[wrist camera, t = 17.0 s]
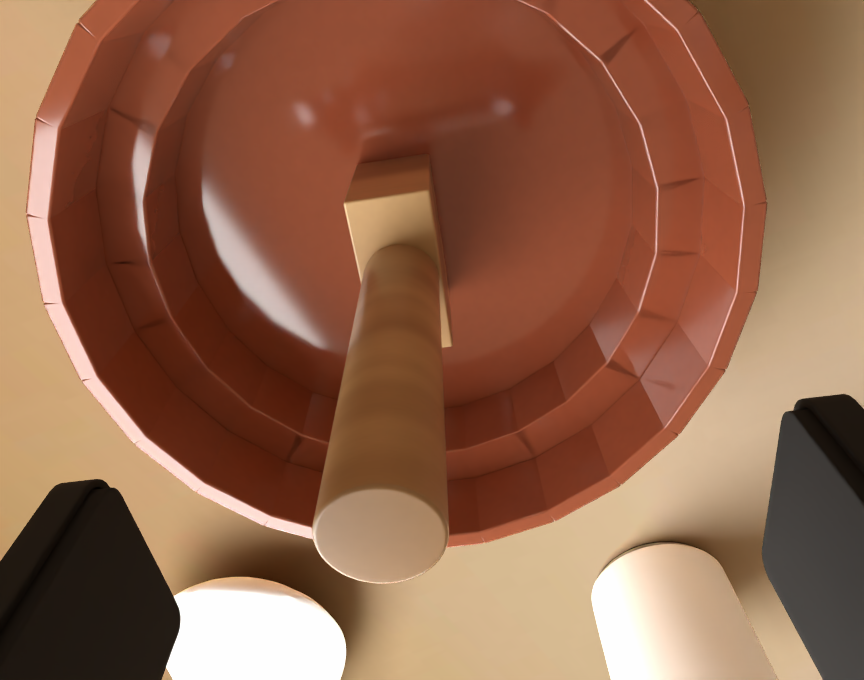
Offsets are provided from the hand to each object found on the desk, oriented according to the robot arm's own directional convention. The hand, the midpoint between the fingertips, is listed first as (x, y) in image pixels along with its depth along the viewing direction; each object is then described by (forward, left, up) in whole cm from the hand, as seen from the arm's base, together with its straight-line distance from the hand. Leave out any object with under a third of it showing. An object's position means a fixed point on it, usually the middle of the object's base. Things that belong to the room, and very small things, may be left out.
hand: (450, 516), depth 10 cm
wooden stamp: (+1, -1, -15) cm, 15 cm away
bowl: (+1, -1, -15) cm, 15 cm away
